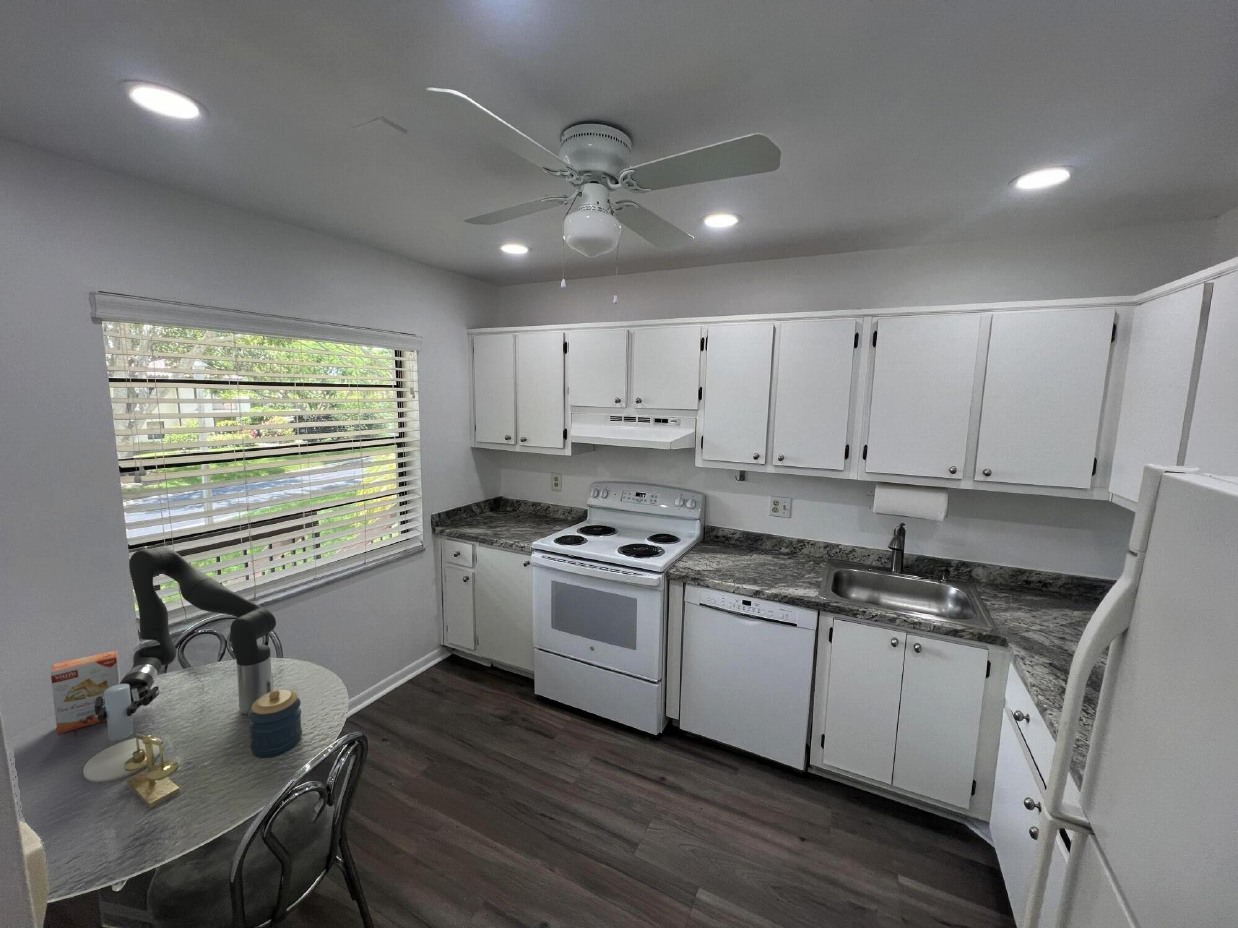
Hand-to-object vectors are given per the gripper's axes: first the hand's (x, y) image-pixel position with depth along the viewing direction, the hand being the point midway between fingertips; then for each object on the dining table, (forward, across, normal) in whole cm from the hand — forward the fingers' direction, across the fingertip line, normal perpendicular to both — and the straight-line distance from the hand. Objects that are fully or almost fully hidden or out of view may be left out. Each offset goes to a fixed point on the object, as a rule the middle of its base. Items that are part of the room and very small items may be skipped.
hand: (115, 715), depth 136 cm
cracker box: (-28, -15, +16) cm, 36 cm away
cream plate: (-2, 0, +16) cm, 16 cm away
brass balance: (+14, +10, +16) cm, 23 cm away
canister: (+8, +37, +16) cm, 41 cm away
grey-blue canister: (-3, 0, +8) cm, 8 cm away
